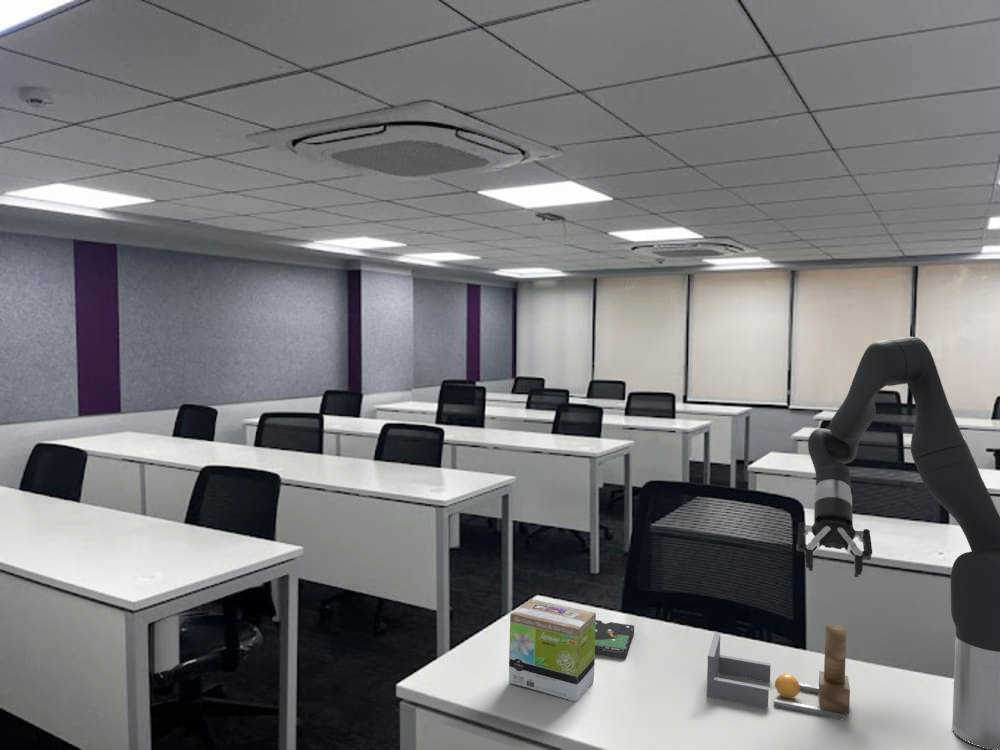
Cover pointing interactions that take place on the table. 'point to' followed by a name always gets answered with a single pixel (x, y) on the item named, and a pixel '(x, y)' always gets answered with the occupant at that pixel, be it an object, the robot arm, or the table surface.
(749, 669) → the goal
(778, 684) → the ball
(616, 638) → the disk drive
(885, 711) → the table surface
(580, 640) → the tea box
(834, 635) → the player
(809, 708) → the track
